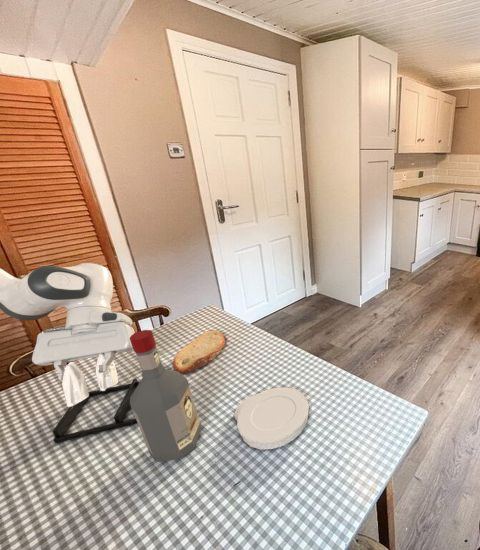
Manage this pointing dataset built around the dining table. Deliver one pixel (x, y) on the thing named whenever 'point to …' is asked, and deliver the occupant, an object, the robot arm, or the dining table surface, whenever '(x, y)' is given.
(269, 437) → the lid
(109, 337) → the robot arm
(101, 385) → the shaker set
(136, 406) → the liquor
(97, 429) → the dish rack
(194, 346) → the bread slice
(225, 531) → the dining table surface
